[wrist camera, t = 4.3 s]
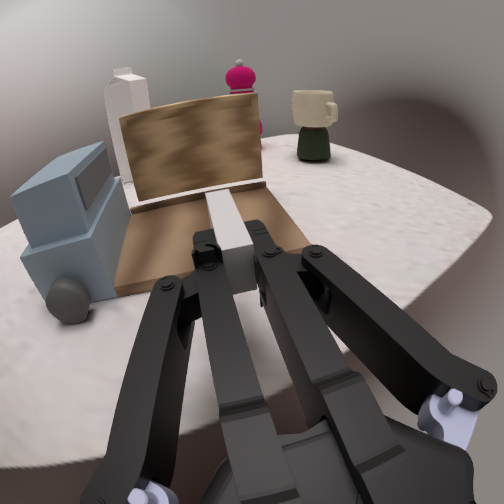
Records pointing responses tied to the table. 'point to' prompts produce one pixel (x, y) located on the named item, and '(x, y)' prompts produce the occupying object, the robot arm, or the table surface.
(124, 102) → the milk
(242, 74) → the pepper mill
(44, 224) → the cab
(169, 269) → the flatbed
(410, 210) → the table surface
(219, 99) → the side gate
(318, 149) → the character mug
